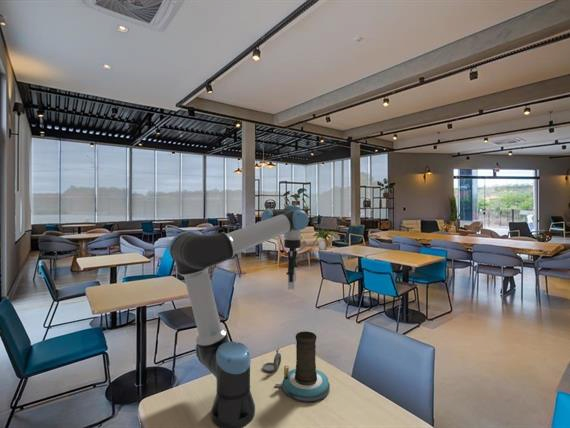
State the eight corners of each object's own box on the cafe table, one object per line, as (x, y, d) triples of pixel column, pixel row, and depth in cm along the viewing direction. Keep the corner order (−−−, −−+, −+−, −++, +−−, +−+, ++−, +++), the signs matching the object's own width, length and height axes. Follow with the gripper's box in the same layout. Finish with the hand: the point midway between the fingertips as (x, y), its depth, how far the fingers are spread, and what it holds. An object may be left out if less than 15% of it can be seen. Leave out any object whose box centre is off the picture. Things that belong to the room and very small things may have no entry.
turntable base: (272, 400, 116) (272, 396, 116) (278, 372, 135) (278, 369, 135) (330, 404, 114) (330, 400, 114) (328, 375, 133) (328, 372, 133)
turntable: (328, 372, 132) (328, 359, 131) (328, 399, 114) (328, 383, 114) (287, 369, 134) (287, 355, 134) (280, 394, 117) (280, 379, 116)
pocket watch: (262, 365, 141) (262, 343, 141) (280, 363, 143) (280, 342, 142) (264, 375, 133) (264, 352, 133) (283, 373, 135) (283, 350, 134)
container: (315, 387, 119) (316, 341, 118) (293, 384, 121) (293, 339, 120) (318, 374, 128) (318, 331, 127) (296, 372, 129) (296, 329, 129)
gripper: (299, 242, 128) (299, 293, 129) (301, 236, 153) (301, 278, 153) (281, 242, 129) (281, 292, 129) (286, 235, 153) (286, 278, 154)
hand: (292, 285), depth 141 cm, fingers open, 13 cm apart
